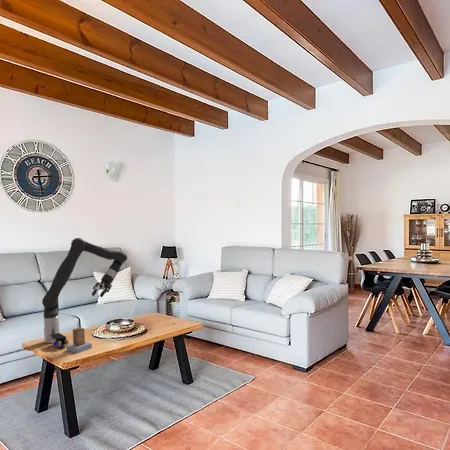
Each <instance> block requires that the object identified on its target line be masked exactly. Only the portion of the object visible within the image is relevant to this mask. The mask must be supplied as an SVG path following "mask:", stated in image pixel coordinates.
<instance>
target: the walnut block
mask: <svg viewBox="0 0 450 450" xmlns="http://www.w3.org/2000/svg"><path fill="white" fill-rule="evenodd" d="M72 341H73V342H72V344H73V345H75V346H81V345H83V344H85V342H86V338H85V328H83V327H77V328H74V329H72Z"/></svg>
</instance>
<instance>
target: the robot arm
mask: <svg viewBox="0 0 450 450" xmlns="http://www.w3.org/2000/svg"><path fill="white" fill-rule="evenodd" d="M69 248H70V249H69V251H68V253H67V255H66V256H65V258H64V259H63V261H62V262H61V264H60V265H59V267H58V269H57V270H56V272H55V275H54V278H53V279H52V283H51V284H50V286H49V289H48V290H47V292H46V294H45V295H44V296H43V298H42V300H41V301H42V303H41V304H42V306H43V326H44V327H43V338H44V343H46V344H52V340H53V337H52V336H50V335H51V334H56V333H60V320H59V317H60V316H59V313H60V312H59V311H60V310H59V306H60V305H59V304H60V303H59V297H60V294H61V292H62V290H63V288H65V285H66V284H67V282H68V281H69V280H70V278H71V275H72V273H73V272H74V269H75V267H76V264H77V261H78V259H79V258H80V256H82V255H81V254H82V253H83V252H86V253H90V254H93V255H95V256H97V257H98V258H103V259H105V260H109V261H113V262H112V263H111V264H110V266H109V268H108V269H107V270H106V271H105V272H104V274H103V275H102V277H101V281H100V282H99V281H97V282H96V283H95V285H93V288H92V290H93V291H92V293H91V296H92V297H94V296H95V295H97V292H98V291H101V290H102V291H101V292H100V294H99V296H100V298H103V297H104V295H105V294H106V293H109V292H110V290H111V289H112V287H113V285H112V283H113V281H114V280H115V278H116V276H117V275H118V273H119V271H120V270H121V267H122V265H124V263H125V262H126V261H127V260H128V255H127V254H126V253H125V252H122V251H117V250H112V249H109V248H105V247H102V246H99V245H95V244H92V243H91V242H88V241H86V240H84V239H83V238H80V237H76V238H74V239H73V240H71V242H70V247H69Z"/></svg>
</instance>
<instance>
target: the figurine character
mask: <svg viewBox="0 0 450 450" xmlns="http://www.w3.org/2000/svg"><path fill="white" fill-rule="evenodd" d="M50 336H52V337H53V340H52V343H51V344H52V345H53V346H56V347H57V348H59V349H60V350H61V349H62V347H63V348H66V346H67V345H69V339H67V336H66V335H63V334H62V333H60V332H59V333H56V334H51V335H50Z"/></svg>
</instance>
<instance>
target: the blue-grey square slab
mask: <svg viewBox="0 0 450 450" xmlns="http://www.w3.org/2000/svg"><path fill="white" fill-rule="evenodd" d="M65 348H66V349H65V350H66V351H68V352H72V353H75V354H79V353H82V352H84V351H87V350H90V349H92V348H93V344H92V342H88V341H85V344H83V345H81V346H75V345H73V343H70V344H67V345H65Z"/></svg>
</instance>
